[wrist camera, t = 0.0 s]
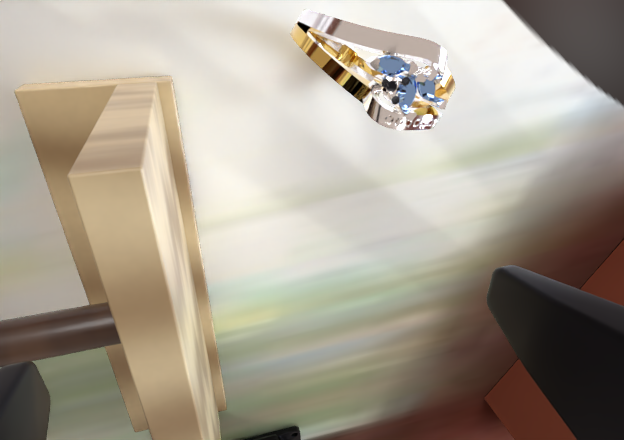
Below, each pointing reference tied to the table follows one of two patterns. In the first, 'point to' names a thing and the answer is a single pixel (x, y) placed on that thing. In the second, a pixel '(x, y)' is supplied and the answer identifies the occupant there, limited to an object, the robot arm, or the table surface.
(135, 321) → the peg rack
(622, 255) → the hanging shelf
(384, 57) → the ring
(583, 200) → the table surface
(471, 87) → the table surface
